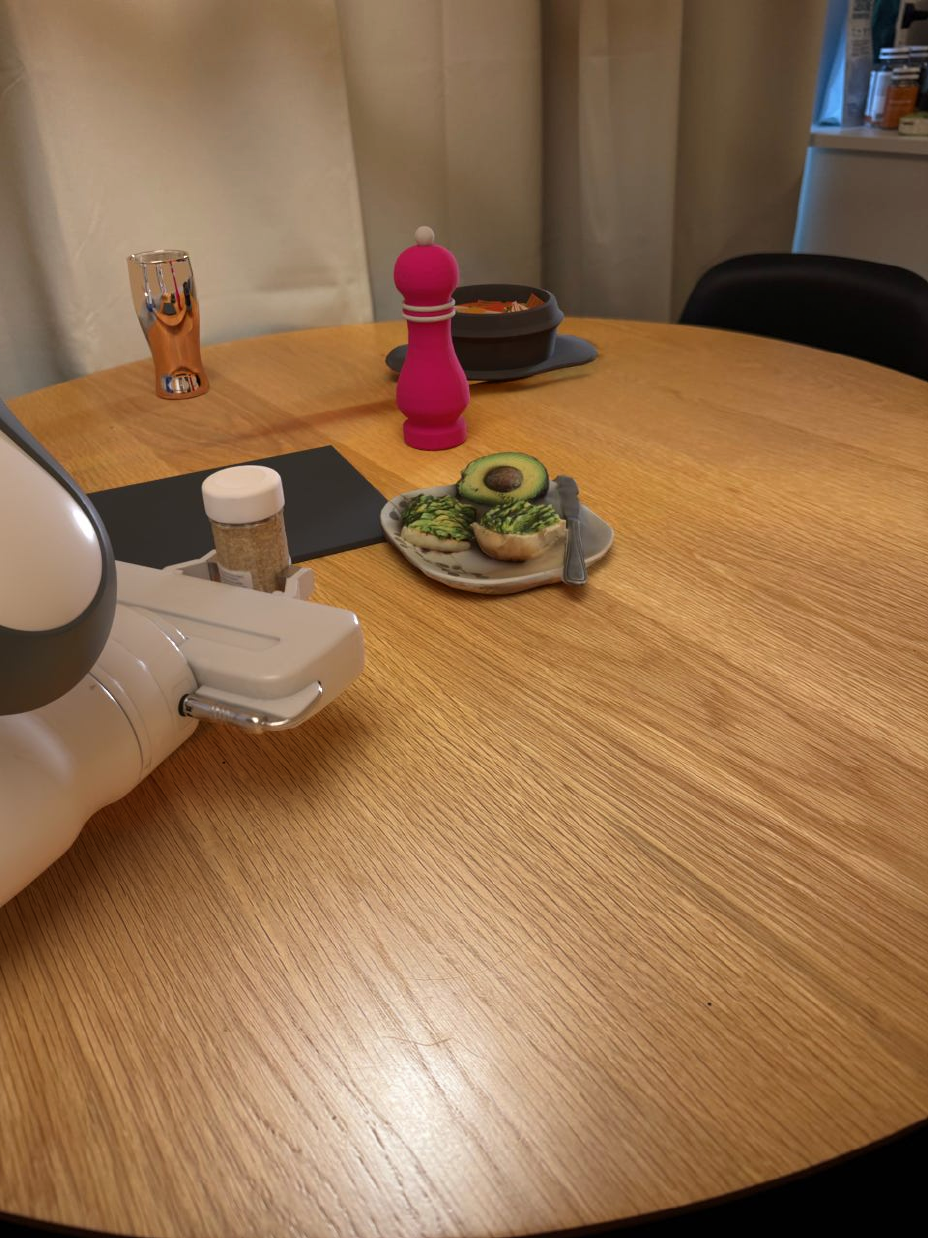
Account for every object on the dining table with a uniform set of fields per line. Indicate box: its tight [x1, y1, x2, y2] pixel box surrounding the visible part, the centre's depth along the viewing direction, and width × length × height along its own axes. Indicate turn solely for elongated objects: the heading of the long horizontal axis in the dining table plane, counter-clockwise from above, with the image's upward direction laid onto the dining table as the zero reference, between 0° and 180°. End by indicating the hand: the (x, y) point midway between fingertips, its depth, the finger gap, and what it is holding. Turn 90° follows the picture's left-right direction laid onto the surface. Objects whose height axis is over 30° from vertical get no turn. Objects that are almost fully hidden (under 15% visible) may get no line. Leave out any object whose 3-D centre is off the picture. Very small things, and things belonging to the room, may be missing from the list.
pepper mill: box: [393, 225, 471, 451], centre depth 92 cm, size 7×7×20 cm
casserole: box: [384, 283, 598, 385], centre depth 113 cm, size 25×19×8 cm
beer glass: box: [126, 249, 211, 400], centre depth 109 cm, size 7×7×15 cm
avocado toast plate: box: [380, 451, 615, 595], centre depth 75 cm, size 19×18×5 cm
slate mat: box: [85, 444, 389, 570], centre depth 83 cm, size 24×21×1 cm
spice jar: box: [202, 465, 292, 593], centre depth 59 cm, size 5×5×14 cm
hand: (265, 568), depth 60 cm, fingers closed on spice jar, 4 cm apart
